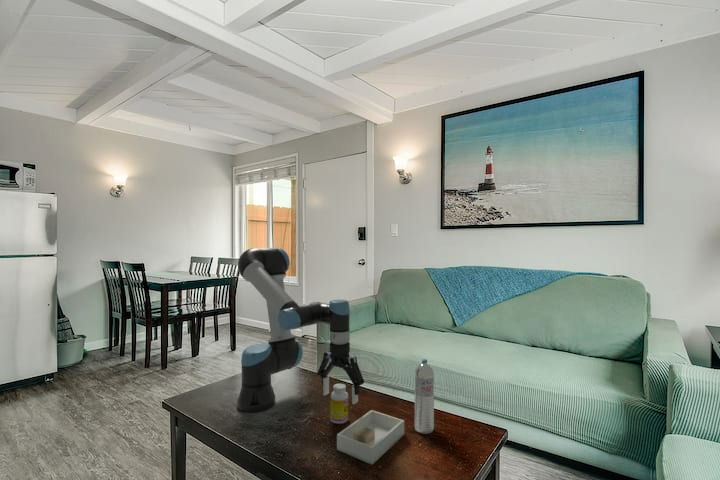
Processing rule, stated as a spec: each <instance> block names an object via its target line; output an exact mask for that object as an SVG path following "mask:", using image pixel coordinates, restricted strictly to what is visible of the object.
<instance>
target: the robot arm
mask: <svg viewBox="0 0 720 480" xmlns="http://www.w3.org/2000/svg"><path fill="white" fill-rule="evenodd" d="M290 264H291V263H290V257H289V255H288V253H287V252H286V250H284V248H280V247H261V248H259V247H257V248H256V247H255V248H254V247H253V248H249V249H246V250H245V251H243V252H242V253H241V255H239V259H238V261H237V269H238V272H239V274H240V275H241V277H242V278H243V279H244V280H245V281H246V282H249V283H250V284H251V285H252V286H253V287H254V288H255V289H256V290H257V291H258V293H259V294H260V295H261V296H262V297H263V298H264V299H265V302H266V307H267V316H268V322H269V329H270V337H269V339H268V343H264V342H261V343H256V344H253V345H252V344H251V345H250V346H247V347H245V349H243V350H242V353H241V361H240V363H241V388H240V391H239V395H238V397H237V401H236V407H237V409H238V410H240V411H242V412H244V413H258V412H262V411H266V410H269V409H271V408H272V407H274V406H275V404H276V395H275V391H274V388H273V386H272V375H274V374H275V375H276V374H278V373H281V372H283V371H286V370H291V369H292V368H294V367H297V366H298V365H300V362H301V361H302V359H303V355H304V354H303V351H304V350H303V346H302V344H301V342H300V341H299V340H297V339H296V336H295V334H293V333H292V332H291V331H292V330H297V329H300V328H304V327H308V326H309V327H310V326H312V325H317V324H320V323H321V324H326V325H329V350H328V351H325V352H324V353H323V356H322V357H323V358H322V360H321V363H320V366H319V367H318V370H317V372H316V373H317V375H318V376H321V385H322V389H323V390H322V393H323V394H322V395H323V396H327V395H329V394H330V376H329V374H330V372H331V371H332V370H333V368H340V369H343V371H345V372H346V375H347V376H348V377H349V379H350V381H351V383H352V386H351V404H352V405H355V404H357V403H358V402H359V394H360V388H361V385H363V384H365V380H364V378H363V375H362V372H361V369H360V367H359V364H358V359H357V356H353V357H352V356H350V352H351V351H350V350H351V344H350V341H351V338H350V337H351V334H350V329H351V328H350V315H351V311H350V302H349V301H348V300H346V299H332V300H330V301H329V303H326V302H320V301H312V302H310V303H309V304H308V305H302V306H300V305H299V304H298V303H297V302H296V301H295V300H294V299H293V298H292V297H291V296H290V295H289V294H288V293H287V292H286V289H285V283H284V279H285V278H286V275H287V274H286V273H287V271H288V270H289V269H290ZM330 360H331V361H330ZM329 361H330V362H329ZM328 363H329V364H328Z"/></svg>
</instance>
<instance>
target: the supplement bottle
mask: <svg viewBox="0 0 720 480" xmlns="http://www.w3.org/2000/svg"><path fill="white" fill-rule="evenodd" d="M346 389H347V386H346V384H344V383H335V384H333V389H332V390H333V391H332V392H331V393H330V422H331V423H333V424H338V425H339V424H340V425H341V424H345V423H346V422H348V420H349V393H348V392H347V391H346Z"/></svg>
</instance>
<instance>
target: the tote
mask: <svg viewBox="0 0 720 480" xmlns="http://www.w3.org/2000/svg"><path fill="white" fill-rule="evenodd" d="M362 426H363V427H366V428H369V429H371V430H374V431H375V444H374V445H372V446H370V445H367V444H365V443H362V442H359V441H357V440H354V439H353V433H354V432H355V431H356V430H358V429H359V428H360V427H362ZM404 436H405V420H404V419H401V418H397V417H395V416H392V415H388V414H385V413H382V412H379V411H376V410H374V409H371V410H369V411H367V413H365V414H364V415H362V416H361V417H359V418H358V419H357V420H355V421H353V422H352V423H351V424H349V425H348V426H347V427H345V428H344V429H343V430H341V431H340V432H338V433H337V434H336V450H337V451H339V452H341V453H343V454H346V455H348V456H350V457H352V458H353V457H354V459H355V458H356V459H358V460H360V461H362V462H365V463H367V464H370V465H371V466H373V464H375V463H376V462H377V461H378V460H379V459H380V458H381V457H382V456H383V455H384V454H385V453H387V451H389V450H390V449H391V448H392V447H393V446H394V445H395V444H396V443H397V442H398V441H399V440H401V438H402V437H404Z"/></svg>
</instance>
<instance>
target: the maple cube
mask: <svg viewBox="0 0 720 480" xmlns="http://www.w3.org/2000/svg"><path fill="white" fill-rule="evenodd" d="M353 439H354V440H357V441H359V442H362V443H365V444H367V445H370V446H372V445H374V444H375V431H374V430H371V429H369V428H366V427H363V426H362V427H360V428H359V429H358V430H356V431H355V432H354V433H353Z"/></svg>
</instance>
